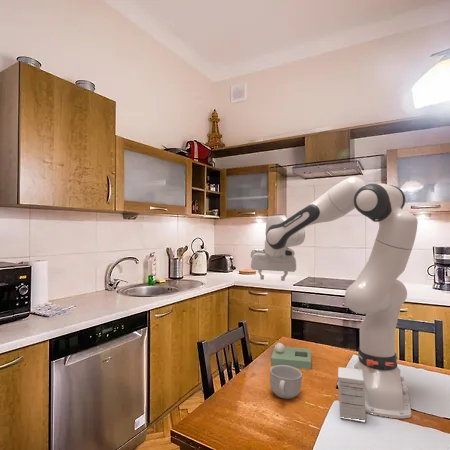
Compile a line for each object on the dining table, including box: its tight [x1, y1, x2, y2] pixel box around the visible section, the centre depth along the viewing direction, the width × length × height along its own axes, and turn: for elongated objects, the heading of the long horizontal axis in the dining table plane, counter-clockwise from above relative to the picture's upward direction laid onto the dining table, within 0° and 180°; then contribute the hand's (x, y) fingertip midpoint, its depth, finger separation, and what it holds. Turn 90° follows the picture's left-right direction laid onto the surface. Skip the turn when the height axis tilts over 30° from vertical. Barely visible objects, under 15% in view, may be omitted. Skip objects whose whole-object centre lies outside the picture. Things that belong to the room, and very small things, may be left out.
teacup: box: [269, 365, 303, 400], centre depth 109 cm, size 14×11×8 cm
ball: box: [274, 342, 285, 353], centre depth 139 cm, size 4×4×4 cm
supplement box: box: [337, 366, 367, 422], centre depth 98 cm, size 7×7×13 cm
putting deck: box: [270, 345, 312, 370], centre depth 138 cm, size 14×16×3 cm
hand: (272, 279), depth 146 cm, fingers open, 8 cm apart
